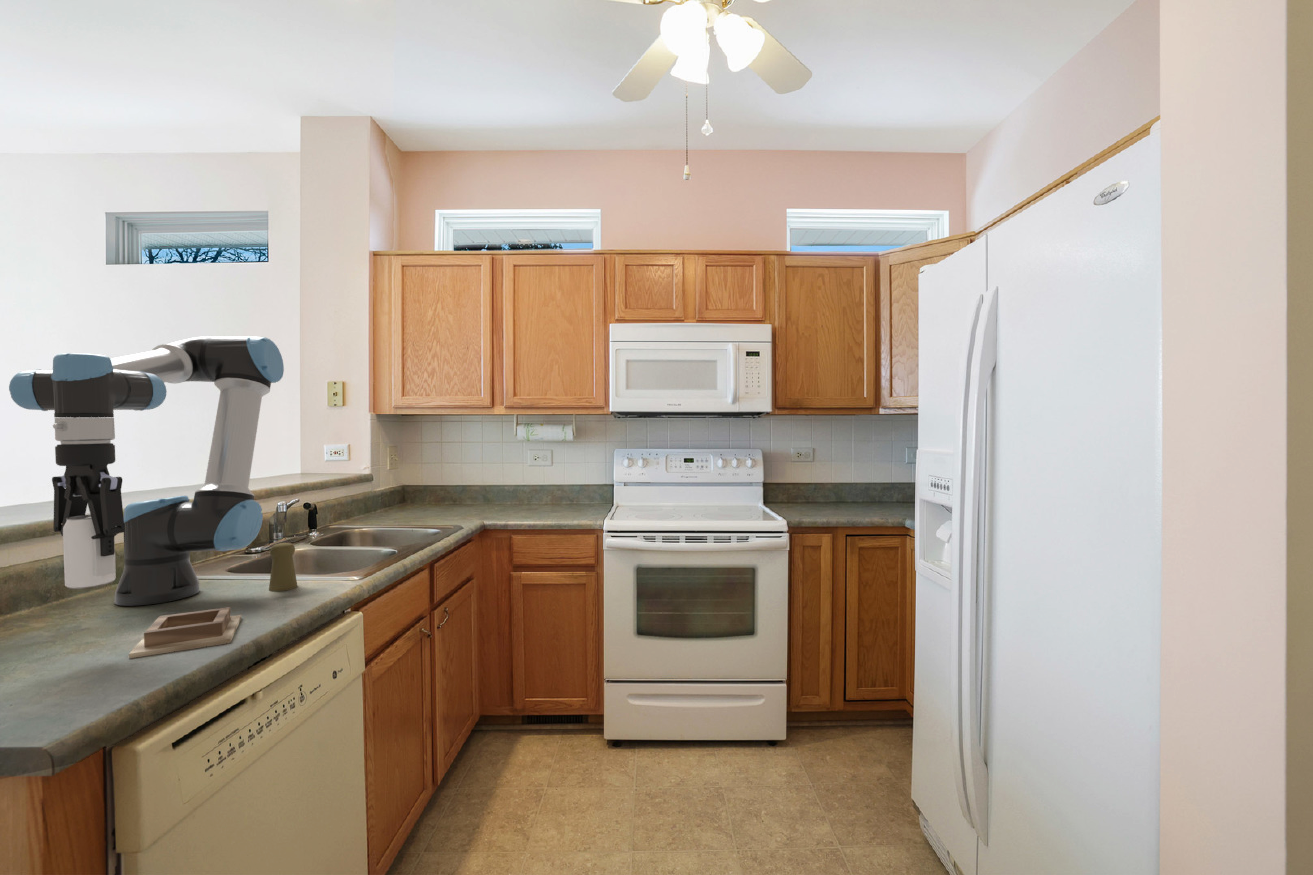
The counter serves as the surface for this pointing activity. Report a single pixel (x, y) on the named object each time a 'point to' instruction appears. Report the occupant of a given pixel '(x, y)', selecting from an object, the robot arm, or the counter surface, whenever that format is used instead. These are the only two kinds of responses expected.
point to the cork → (282, 567)
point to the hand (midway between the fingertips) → (90, 572)
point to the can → (81, 554)
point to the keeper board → (187, 632)
